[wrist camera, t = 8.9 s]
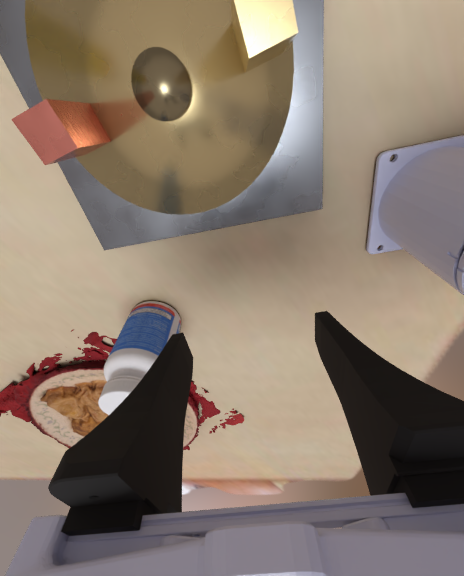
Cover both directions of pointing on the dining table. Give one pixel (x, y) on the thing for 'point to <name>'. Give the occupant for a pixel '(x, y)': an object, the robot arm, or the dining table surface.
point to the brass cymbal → (161, 94)
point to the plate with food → (83, 398)
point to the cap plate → (252, 201)
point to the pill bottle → (137, 350)
